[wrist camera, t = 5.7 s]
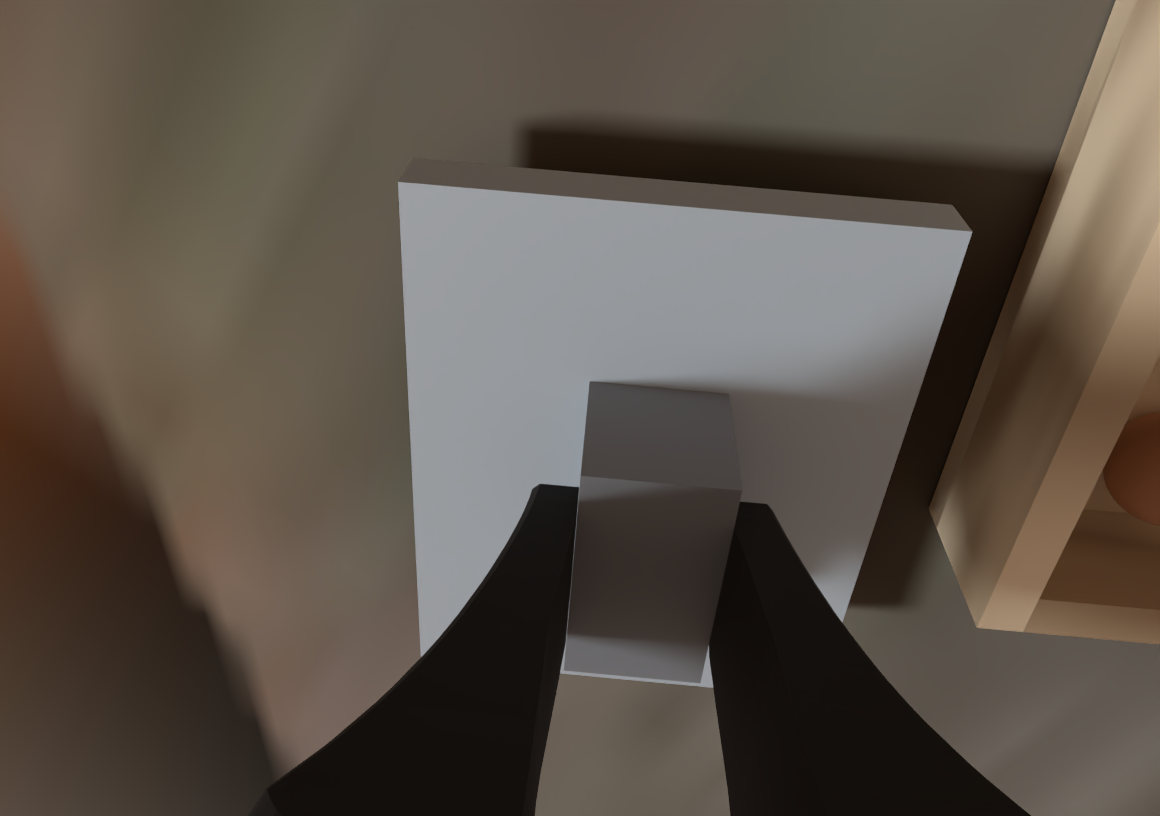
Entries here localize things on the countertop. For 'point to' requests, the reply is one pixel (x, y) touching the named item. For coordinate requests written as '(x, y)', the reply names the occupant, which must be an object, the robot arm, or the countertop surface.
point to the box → (1074, 382)
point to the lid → (657, 384)
